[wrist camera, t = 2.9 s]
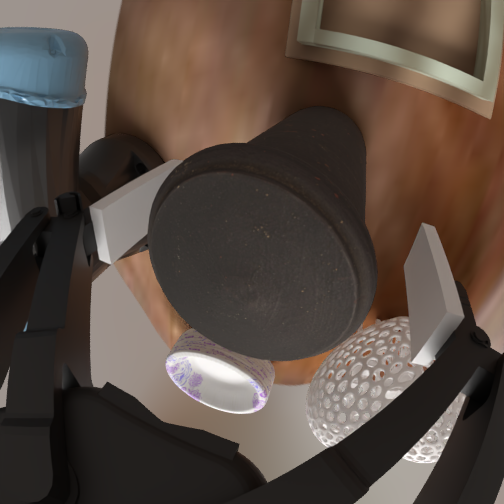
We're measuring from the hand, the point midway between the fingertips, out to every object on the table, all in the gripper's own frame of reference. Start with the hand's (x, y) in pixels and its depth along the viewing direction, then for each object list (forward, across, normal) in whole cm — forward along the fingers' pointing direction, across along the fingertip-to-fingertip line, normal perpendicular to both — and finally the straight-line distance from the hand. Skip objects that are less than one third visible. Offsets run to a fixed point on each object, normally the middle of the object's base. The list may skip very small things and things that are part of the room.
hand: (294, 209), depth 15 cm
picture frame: (+13, +5, +17) cm, 22 cm away
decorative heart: (+13, +14, -17) cm, 25 cm away
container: (+13, 0, 0) cm, 13 cm away
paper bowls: (+13, -6, -31) cm, 34 cm away
